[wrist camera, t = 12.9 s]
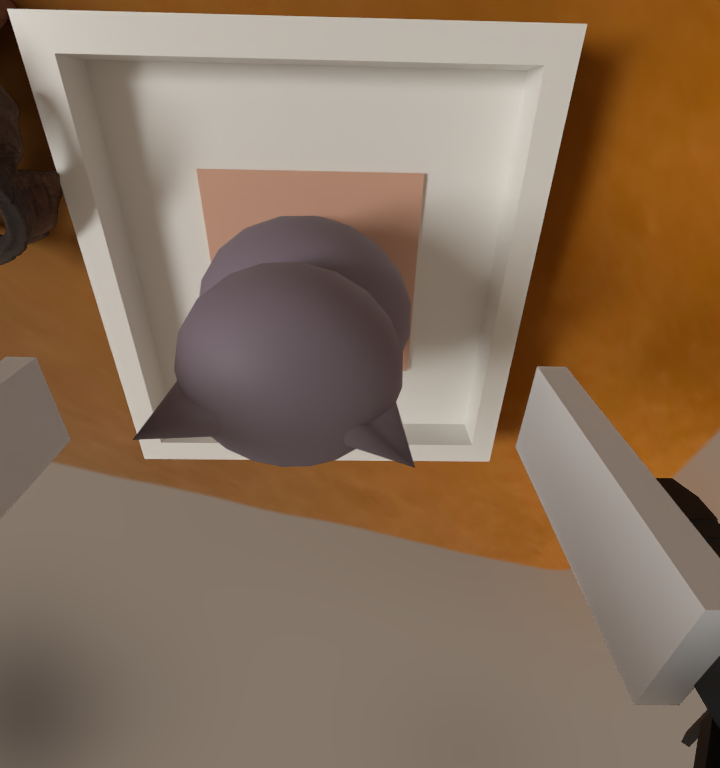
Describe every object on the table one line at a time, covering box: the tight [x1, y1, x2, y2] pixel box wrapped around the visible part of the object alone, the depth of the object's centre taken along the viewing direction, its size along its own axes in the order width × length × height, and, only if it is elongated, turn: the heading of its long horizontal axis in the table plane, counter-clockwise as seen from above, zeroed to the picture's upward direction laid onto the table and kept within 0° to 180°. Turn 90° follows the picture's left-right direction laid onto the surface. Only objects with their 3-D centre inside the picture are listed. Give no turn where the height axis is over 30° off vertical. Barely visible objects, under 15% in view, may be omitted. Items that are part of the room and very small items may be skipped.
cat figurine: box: [133, 216, 415, 467], centre depth 17 cm, size 8×8×12 cm
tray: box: [7, 9, 587, 461], centre depth 22 cm, size 20×20×3 cm
